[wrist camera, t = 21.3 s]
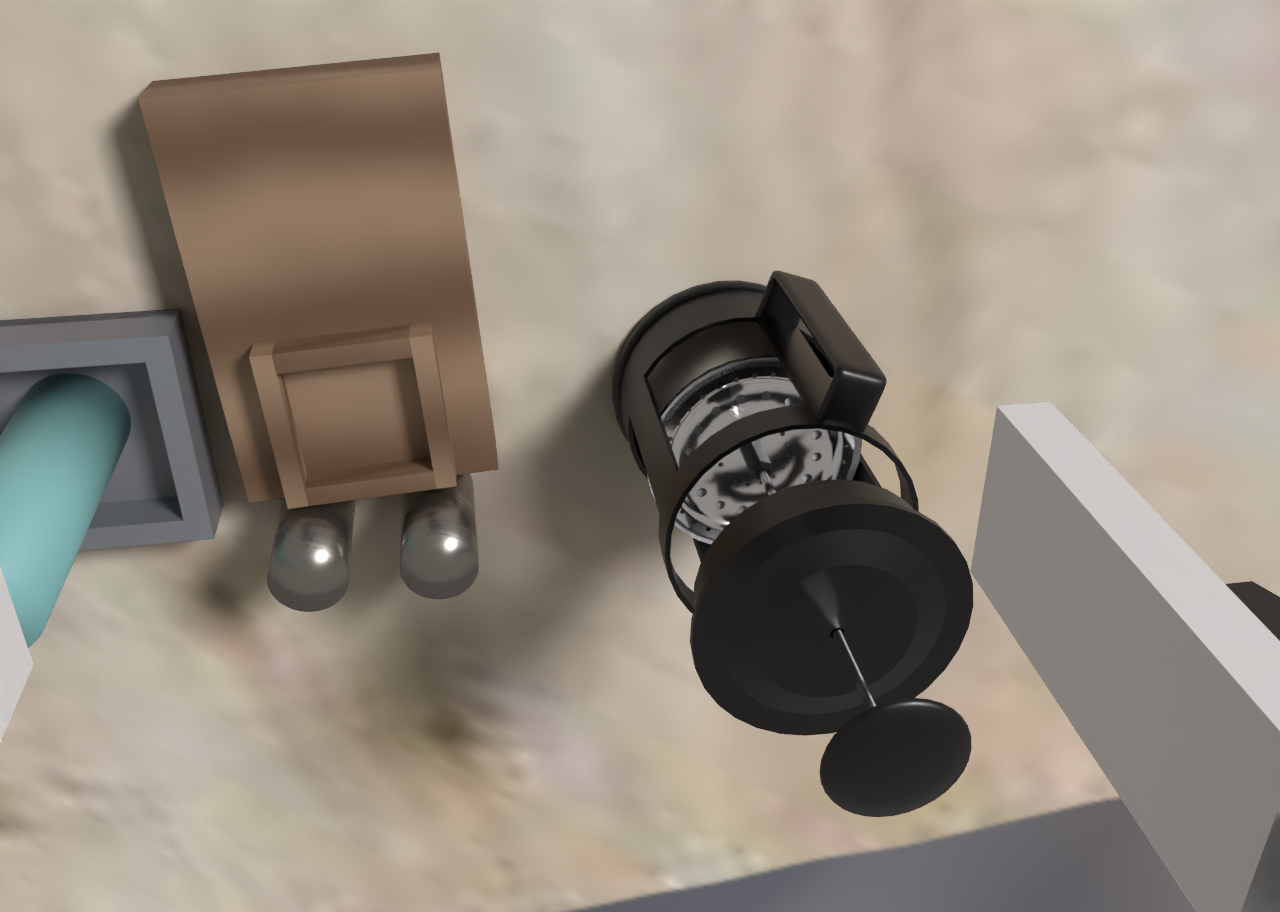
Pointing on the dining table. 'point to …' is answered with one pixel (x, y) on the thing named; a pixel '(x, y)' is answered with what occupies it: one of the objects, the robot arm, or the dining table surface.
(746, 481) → the french press
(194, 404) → the tray
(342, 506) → the bench dogs
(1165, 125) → the dining table surface
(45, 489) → the dowel
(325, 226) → the brown flat block
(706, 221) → the dining table surface
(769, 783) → the dining table surface
